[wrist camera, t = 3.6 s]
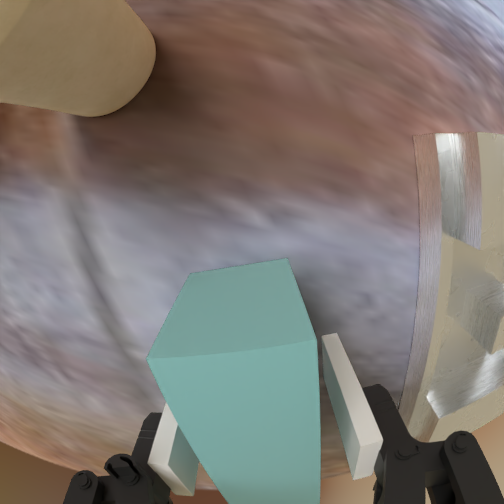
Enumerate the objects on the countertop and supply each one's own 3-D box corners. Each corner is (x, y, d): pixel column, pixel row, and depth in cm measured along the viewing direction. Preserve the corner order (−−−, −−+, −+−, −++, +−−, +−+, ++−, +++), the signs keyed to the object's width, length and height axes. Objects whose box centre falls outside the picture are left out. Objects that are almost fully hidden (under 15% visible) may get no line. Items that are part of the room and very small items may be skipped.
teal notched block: (203, 249, 13) (145, 358, 5) (279, 236, 13) (316, 339, 5) (248, 422, 17) (247, 528, 9) (301, 415, 16) (319, 520, 9)
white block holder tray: (412, 135, 11) (463, 130, 8) (521, 141, 11) (564, 145, 7) (394, 423, 17) (411, 460, 13) (486, 383, 17) (508, 409, 13)
